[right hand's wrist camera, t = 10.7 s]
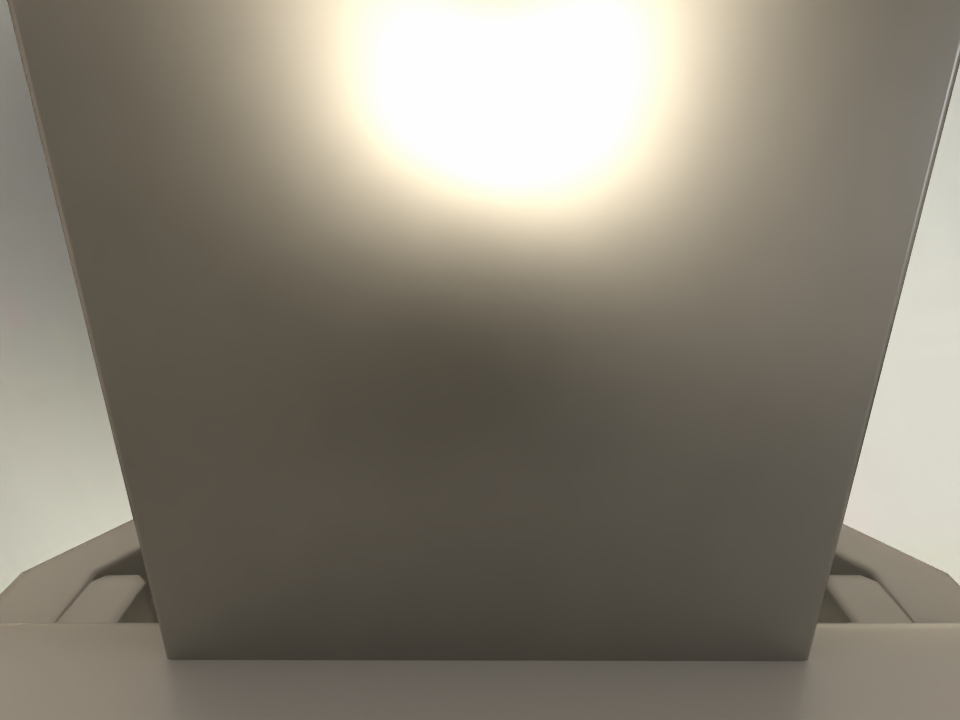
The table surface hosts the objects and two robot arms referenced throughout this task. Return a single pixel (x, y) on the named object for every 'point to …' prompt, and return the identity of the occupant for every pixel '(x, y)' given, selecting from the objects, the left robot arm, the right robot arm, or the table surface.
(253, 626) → the bar
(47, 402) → the table surface
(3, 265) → the table surface
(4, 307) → the table surface
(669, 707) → the right robot arm
